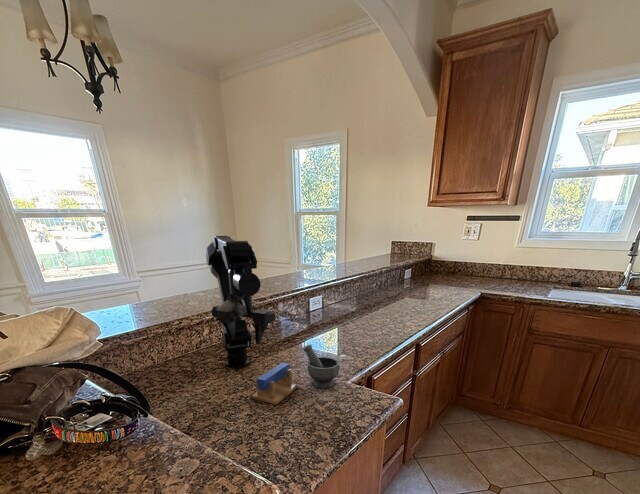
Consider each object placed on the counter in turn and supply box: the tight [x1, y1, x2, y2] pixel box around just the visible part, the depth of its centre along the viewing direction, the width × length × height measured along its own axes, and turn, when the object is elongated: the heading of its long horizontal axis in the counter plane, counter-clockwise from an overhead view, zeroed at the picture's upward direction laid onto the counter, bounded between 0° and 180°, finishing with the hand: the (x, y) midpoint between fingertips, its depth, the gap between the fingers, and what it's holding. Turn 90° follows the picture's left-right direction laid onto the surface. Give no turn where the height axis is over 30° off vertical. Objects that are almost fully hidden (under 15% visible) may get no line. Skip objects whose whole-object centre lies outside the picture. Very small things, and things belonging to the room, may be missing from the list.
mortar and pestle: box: [302, 344, 340, 389], centre depth 106 cm, size 11×9×12 cm
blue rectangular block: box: [256, 362, 290, 390], centre depth 99 cm, size 13×2×3 cm, turn 155°
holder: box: [251, 366, 298, 405], centre depth 100 cm, size 12×8×6 cm
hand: (245, 342), depth 105 cm, fingers open, 9 cm apart
